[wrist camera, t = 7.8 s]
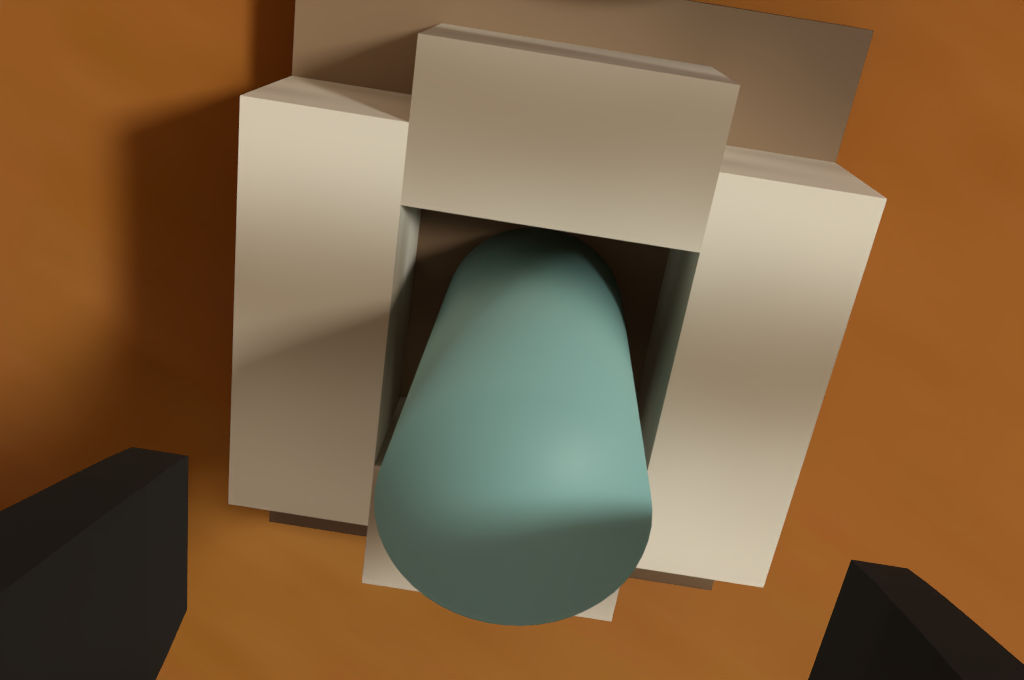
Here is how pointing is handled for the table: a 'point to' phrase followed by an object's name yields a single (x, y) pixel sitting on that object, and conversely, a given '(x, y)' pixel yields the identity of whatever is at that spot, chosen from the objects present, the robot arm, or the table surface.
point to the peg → (520, 440)
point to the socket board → (559, 206)
